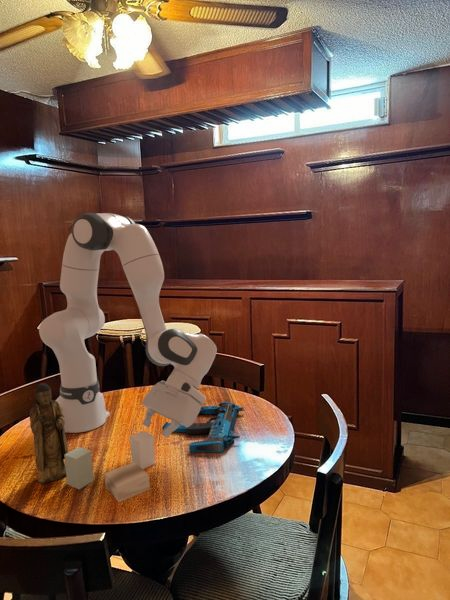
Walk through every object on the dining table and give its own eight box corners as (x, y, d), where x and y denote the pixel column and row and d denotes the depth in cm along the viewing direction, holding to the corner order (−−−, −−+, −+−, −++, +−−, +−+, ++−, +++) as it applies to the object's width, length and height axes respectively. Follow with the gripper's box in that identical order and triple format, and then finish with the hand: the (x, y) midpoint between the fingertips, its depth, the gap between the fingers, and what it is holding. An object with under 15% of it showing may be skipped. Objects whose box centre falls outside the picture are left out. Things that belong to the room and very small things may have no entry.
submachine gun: (177, 397, 156) (246, 394, 153) (178, 407, 157) (247, 404, 154) (150, 443, 123) (237, 440, 119) (151, 455, 123) (238, 453, 120)
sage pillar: (67, 484, 108) (64, 454, 107) (81, 475, 112) (79, 446, 110) (79, 489, 106) (76, 459, 104) (93, 480, 109) (90, 450, 108)
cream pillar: (132, 463, 117) (129, 436, 115) (146, 457, 120) (144, 430, 118) (140, 470, 113) (138, 441, 112) (155, 463, 116) (153, 435, 115)
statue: (27, 488, 107) (16, 392, 103) (45, 468, 116) (35, 379, 112) (63, 488, 106) (53, 391, 103) (78, 468, 115) (69, 378, 112)
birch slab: (105, 488, 106) (104, 473, 106) (135, 476, 111) (134, 461, 110) (118, 503, 100) (117, 487, 99) (149, 490, 105) (148, 474, 104)
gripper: (153, 373, 129) (127, 415, 124) (196, 389, 114) (168, 437, 109) (166, 384, 132) (141, 424, 127) (210, 400, 117) (184, 447, 112)
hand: (154, 430), depth 118 cm, fingers open, 8 cm apart
